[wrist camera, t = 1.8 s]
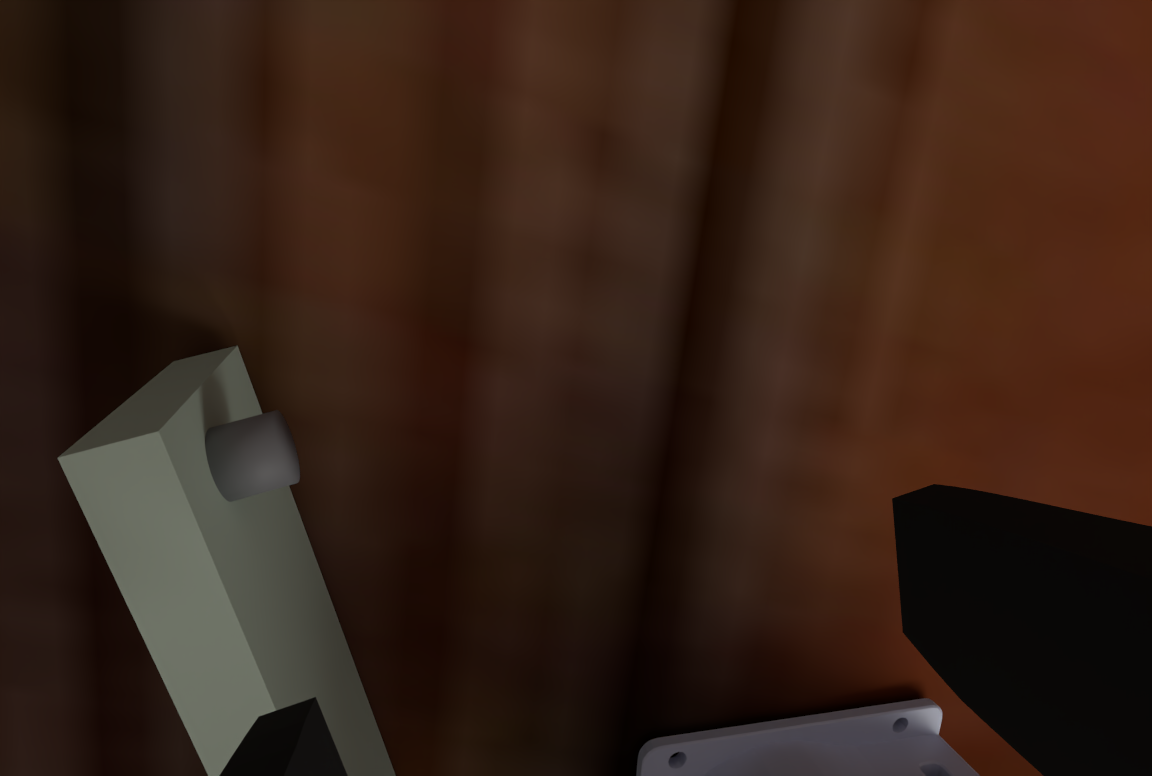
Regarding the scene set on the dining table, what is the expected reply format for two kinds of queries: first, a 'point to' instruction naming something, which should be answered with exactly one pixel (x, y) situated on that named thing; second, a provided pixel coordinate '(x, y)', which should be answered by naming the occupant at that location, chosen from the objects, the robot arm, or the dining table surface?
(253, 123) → the dining table surface
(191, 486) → the door
